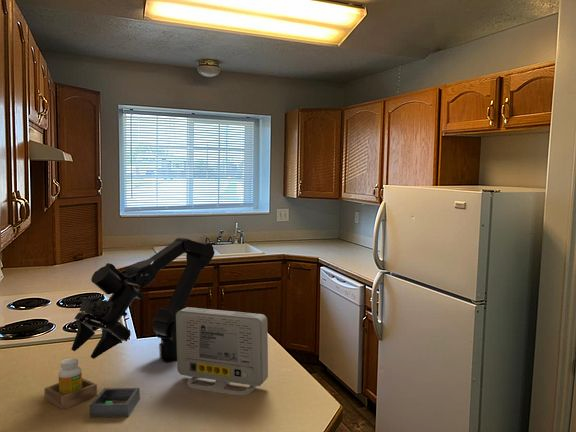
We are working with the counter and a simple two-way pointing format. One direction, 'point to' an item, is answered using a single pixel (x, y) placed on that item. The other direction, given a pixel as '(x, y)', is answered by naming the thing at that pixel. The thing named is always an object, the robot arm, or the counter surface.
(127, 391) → the dock collar
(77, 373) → the supplement bottle
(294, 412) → the counter surface
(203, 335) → the network device
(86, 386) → the holder sleeve
